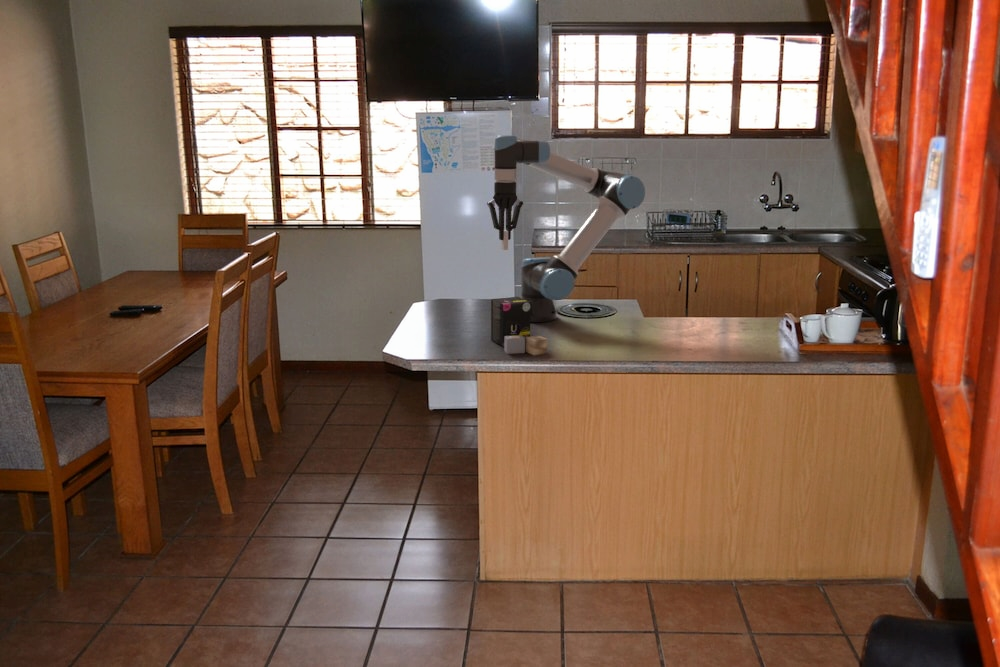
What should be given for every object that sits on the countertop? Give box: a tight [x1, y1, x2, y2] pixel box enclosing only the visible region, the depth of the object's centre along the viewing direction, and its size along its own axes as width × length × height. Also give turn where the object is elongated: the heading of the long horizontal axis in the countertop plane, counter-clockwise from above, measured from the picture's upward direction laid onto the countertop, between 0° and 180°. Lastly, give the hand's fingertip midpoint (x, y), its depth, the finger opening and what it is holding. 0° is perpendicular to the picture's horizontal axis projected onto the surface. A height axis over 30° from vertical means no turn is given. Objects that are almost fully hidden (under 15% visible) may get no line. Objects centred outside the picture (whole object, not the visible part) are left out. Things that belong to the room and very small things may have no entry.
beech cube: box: [525, 335, 548, 356], centre depth 292 cm, size 5×5×5 cm
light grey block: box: [503, 335, 526, 355], centre depth 293 cm, size 6×4×5 cm, turn 101°
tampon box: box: [490, 296, 531, 347], centre depth 304 cm, size 11×9×15 cm
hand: (504, 249), depth 313 cm, fingers closed
